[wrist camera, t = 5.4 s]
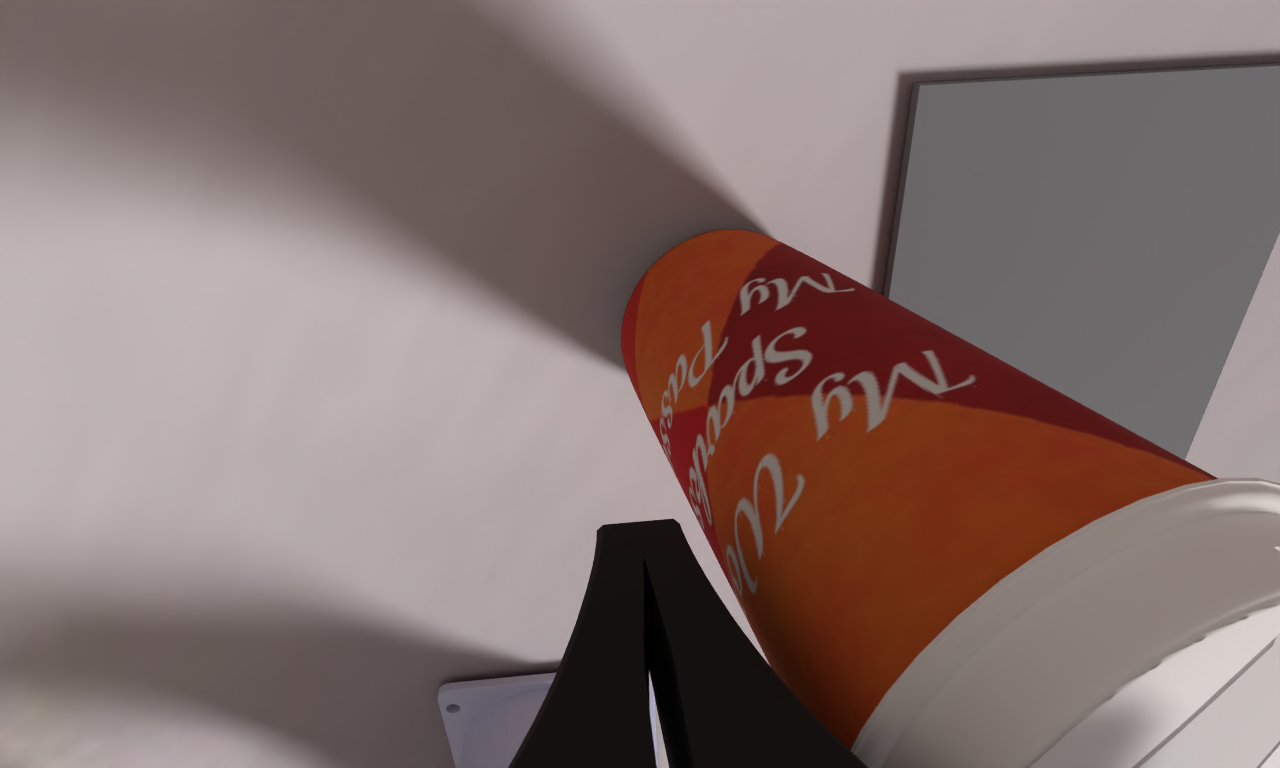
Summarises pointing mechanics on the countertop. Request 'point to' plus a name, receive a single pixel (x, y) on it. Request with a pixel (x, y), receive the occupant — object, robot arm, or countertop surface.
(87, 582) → the countertop surface
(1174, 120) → the mat
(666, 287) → the paper cup
